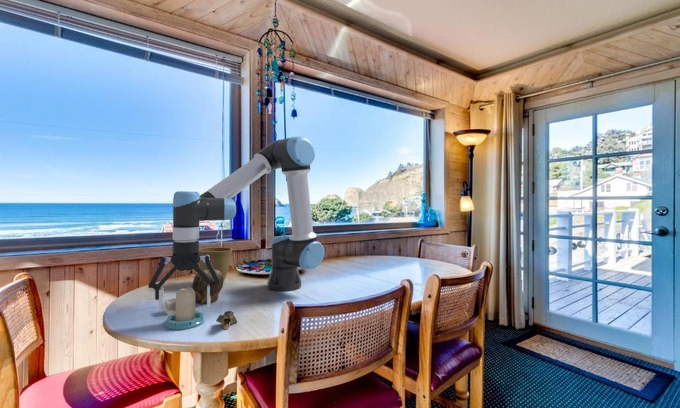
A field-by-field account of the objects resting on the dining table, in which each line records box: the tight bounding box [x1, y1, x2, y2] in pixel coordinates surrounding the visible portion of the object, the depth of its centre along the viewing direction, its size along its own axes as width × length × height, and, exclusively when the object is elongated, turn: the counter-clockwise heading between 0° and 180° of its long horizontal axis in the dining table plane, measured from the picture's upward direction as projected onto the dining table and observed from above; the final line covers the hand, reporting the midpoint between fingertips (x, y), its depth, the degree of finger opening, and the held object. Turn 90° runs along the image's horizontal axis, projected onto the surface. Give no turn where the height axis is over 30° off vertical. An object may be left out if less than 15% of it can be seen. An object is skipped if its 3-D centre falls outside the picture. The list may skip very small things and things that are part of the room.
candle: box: [175, 286, 196, 322], centre depth 103 cm, size 6×6×10 cm
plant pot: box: [198, 246, 233, 283], centre depth 149 cm, size 15×15×16 cm
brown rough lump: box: [191, 269, 224, 304], centre depth 125 cm, size 11×11×12 cm
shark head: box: [216, 310, 238, 331], centre depth 101 cm, size 8×6×7 cm
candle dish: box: [164, 310, 205, 331], centre depth 103 cm, size 11×11×2 cm
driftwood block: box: [164, 297, 176, 316], centre depth 113 cm, size 5×5×4 cm
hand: (185, 308), depth 103 cm, fingers open, 13 cm apart
